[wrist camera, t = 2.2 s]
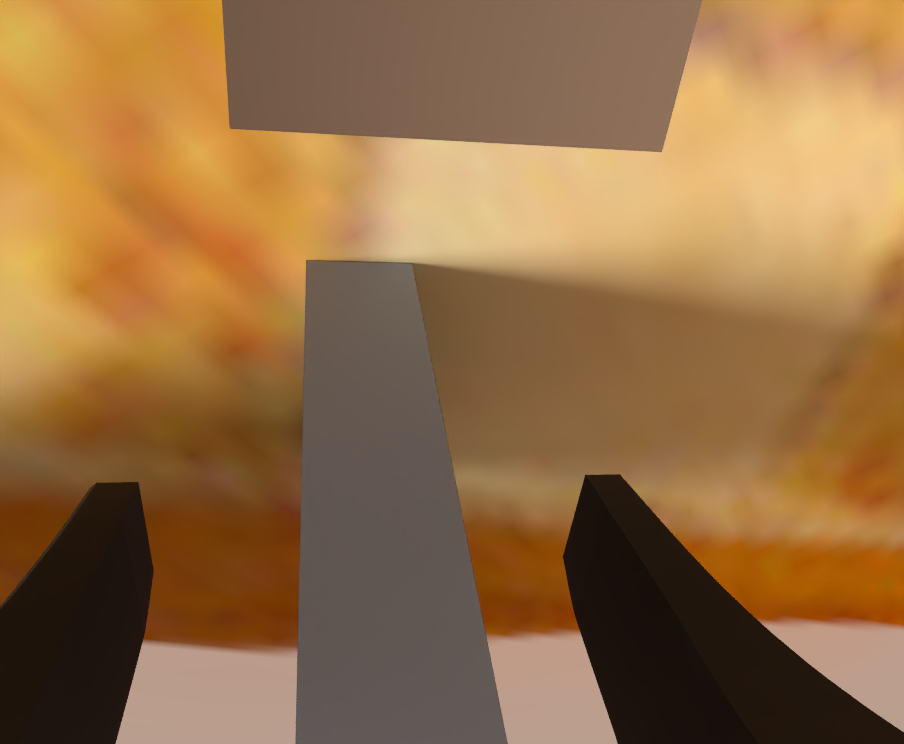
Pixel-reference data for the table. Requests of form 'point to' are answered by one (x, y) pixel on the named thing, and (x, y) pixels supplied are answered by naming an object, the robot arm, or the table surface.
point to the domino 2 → (382, 529)
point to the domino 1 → (460, 69)
